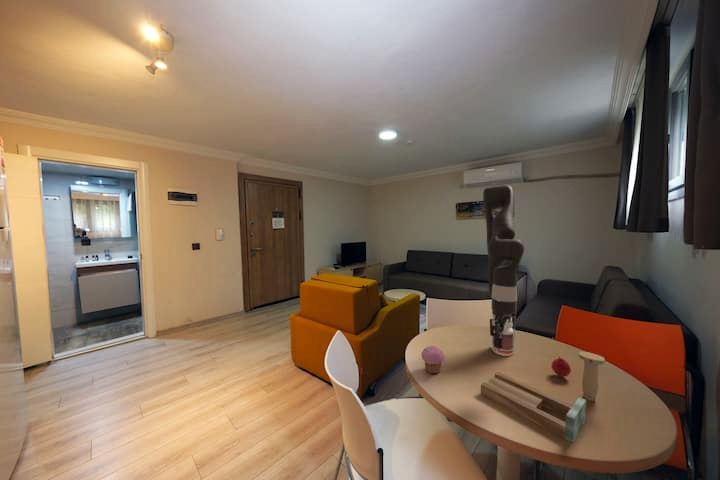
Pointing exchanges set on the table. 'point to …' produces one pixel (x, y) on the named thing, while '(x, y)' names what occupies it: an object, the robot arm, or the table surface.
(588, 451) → the table surface
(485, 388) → the channel board
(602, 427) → the table surface
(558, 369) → the onion
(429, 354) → the cupcake
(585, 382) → the handle
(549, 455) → the table surface
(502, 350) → the pill bottle
